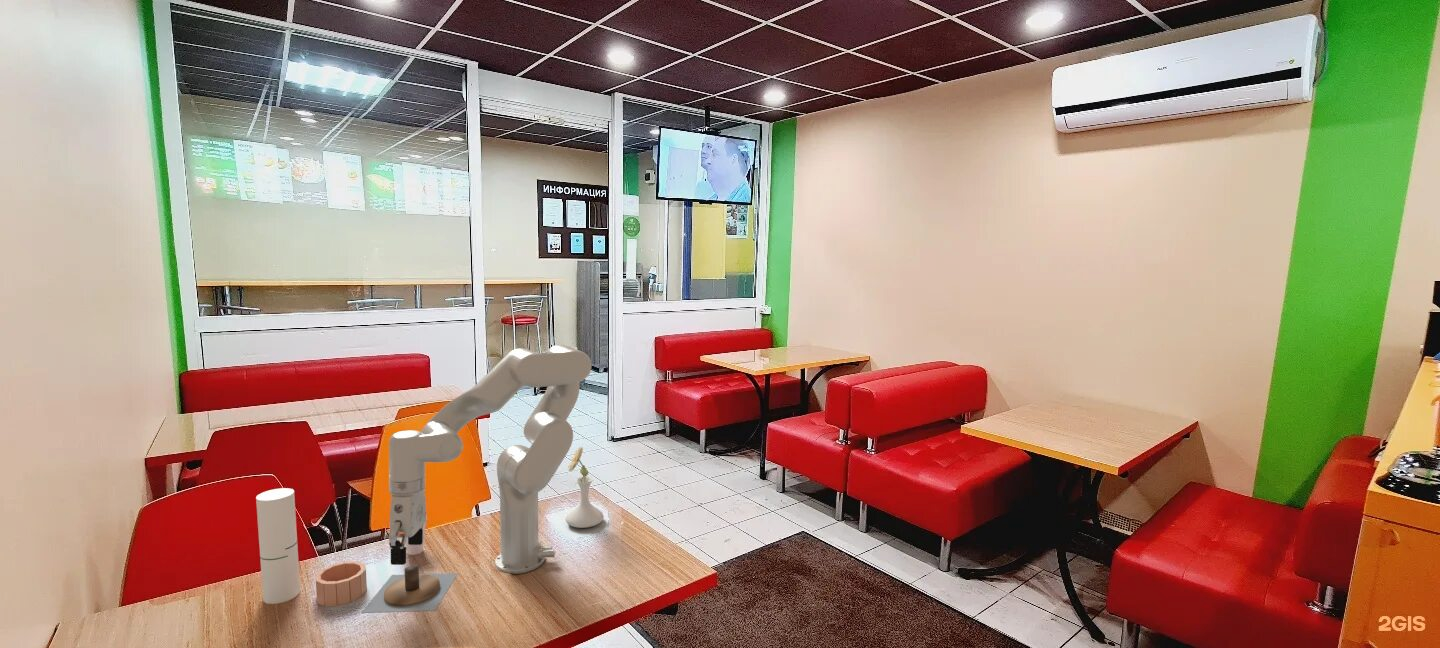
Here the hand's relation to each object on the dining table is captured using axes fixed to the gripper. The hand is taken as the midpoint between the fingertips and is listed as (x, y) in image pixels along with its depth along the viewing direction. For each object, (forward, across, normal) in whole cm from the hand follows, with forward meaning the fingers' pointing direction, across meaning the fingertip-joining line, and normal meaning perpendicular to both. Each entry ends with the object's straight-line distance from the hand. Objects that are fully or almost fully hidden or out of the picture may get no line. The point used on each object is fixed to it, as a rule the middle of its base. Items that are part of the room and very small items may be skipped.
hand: (407, 553), depth 145 cm
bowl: (+11, +1, +15) cm, 19 cm away
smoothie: (+10, +21, +6) cm, 24 cm away
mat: (+10, +1, -1) cm, 10 cm away
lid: (+10, +1, -1) cm, 10 cm away
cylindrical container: (+12, +2, +29) cm, 31 cm away
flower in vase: (+9, +37, -37) cm, 53 cm away
